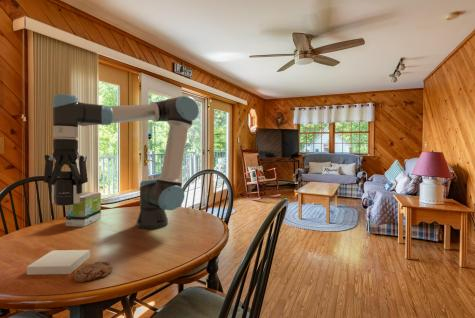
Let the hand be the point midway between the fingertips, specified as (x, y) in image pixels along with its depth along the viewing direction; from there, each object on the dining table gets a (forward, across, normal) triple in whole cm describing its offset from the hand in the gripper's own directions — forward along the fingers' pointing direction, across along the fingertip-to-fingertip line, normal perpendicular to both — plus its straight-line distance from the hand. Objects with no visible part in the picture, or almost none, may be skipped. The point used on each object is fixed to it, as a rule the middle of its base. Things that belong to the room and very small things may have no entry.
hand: (66, 202), depth 97 cm
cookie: (+20, +17, -14) cm, 30 cm away
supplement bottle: (+1, 0, 0) cm, 1 cm away
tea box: (+20, -16, +42) cm, 49 cm away
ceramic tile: (+20, +3, -7) cm, 21 cm away
